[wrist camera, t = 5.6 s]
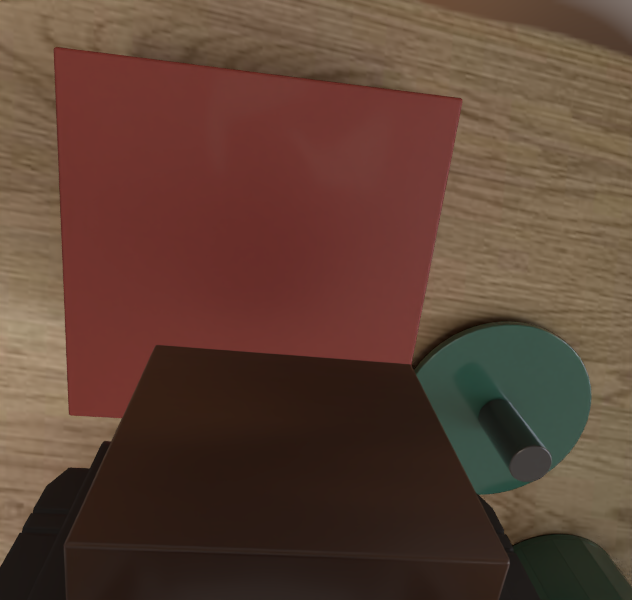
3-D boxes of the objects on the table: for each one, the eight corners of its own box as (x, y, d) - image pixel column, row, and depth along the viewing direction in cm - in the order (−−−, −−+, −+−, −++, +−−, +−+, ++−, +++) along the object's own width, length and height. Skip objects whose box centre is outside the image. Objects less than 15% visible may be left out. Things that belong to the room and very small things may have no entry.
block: (411, 363, 11) (513, 561, 6) (372, 557, 13) (430, 825, 8) (154, 343, 11) (61, 545, 6) (149, 549, 12) (74, 832, 8)
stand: (401, 96, 29) (463, 98, 20) (362, 339, 34) (398, 433, 25) (125, 61, 28) (52, 46, 18) (126, 322, 32) (67, 416, 23)
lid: (605, 325, 35) (672, 371, 29) (553, 487, 39) (603, 555, 33) (413, 309, 33) (443, 355, 28) (381, 479, 38) (402, 549, 32)
